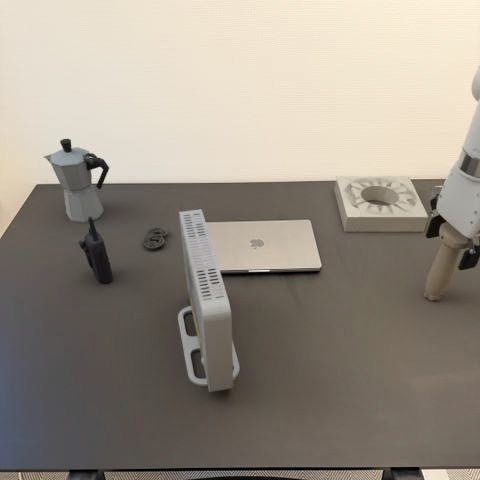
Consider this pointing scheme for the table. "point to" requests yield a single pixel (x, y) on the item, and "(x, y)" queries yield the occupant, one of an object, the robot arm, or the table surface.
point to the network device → (206, 307)
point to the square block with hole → (374, 216)
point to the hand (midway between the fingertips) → (449, 251)
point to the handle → (444, 261)
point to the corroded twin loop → (155, 237)
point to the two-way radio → (96, 254)
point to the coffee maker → (78, 180)
